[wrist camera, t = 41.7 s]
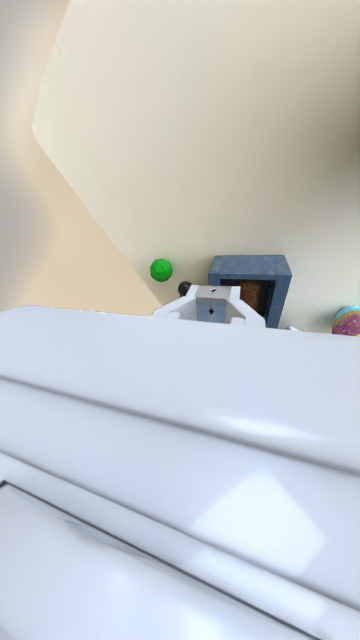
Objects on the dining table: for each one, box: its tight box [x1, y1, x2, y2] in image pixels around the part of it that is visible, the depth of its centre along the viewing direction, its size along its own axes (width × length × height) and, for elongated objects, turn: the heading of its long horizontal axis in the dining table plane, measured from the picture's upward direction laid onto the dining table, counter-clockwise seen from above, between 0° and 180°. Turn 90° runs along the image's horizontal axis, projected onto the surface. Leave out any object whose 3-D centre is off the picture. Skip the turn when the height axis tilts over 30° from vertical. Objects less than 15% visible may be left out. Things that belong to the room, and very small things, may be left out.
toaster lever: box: [178, 281, 192, 297], centre depth 39 cm, size 12×3×3 cm, turn 7°
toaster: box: [208, 255, 292, 329], centre depth 41 cm, size 13×24×9 cm, turn 7°
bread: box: [238, 279, 261, 312], centre depth 40 cm, size 6×19×6 cm, turn 0°
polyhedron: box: [150, 259, 172, 282], centre depth 42 cm, size 5×5×5 cm
